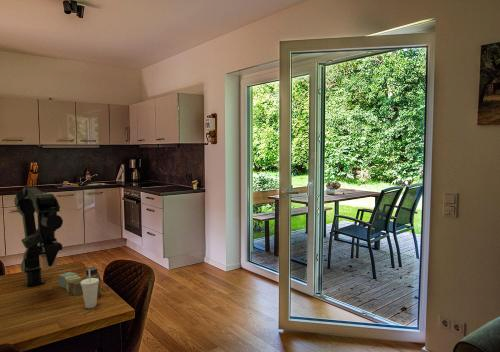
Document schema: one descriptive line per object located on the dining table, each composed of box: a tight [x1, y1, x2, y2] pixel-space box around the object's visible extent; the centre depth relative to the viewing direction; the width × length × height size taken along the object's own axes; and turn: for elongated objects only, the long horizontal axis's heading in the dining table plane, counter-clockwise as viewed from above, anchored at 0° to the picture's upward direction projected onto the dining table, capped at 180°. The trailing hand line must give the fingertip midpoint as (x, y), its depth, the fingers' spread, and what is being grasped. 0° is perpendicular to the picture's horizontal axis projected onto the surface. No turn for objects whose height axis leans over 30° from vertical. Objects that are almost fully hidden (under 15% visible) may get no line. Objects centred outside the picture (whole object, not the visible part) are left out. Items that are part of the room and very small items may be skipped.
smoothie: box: [80, 270, 99, 309], centre depth 137 cm, size 6×6×14 cm
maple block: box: [64, 274, 81, 293], centre depth 155 cm, size 5×5×5 cm
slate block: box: [58, 271, 78, 289], centre depth 159 cm, size 5×5×5 cm
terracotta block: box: [39, 254, 58, 271], centre depth 147 cm, size 5×5×5 cm
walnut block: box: [68, 278, 84, 297], centre depth 151 cm, size 5×5×5 cm
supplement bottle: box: [83, 266, 102, 298], centre depth 147 cm, size 6×6×11 cm
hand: (48, 264), depth 147 cm, fingers closed on terracotta block, 5 cm apart
